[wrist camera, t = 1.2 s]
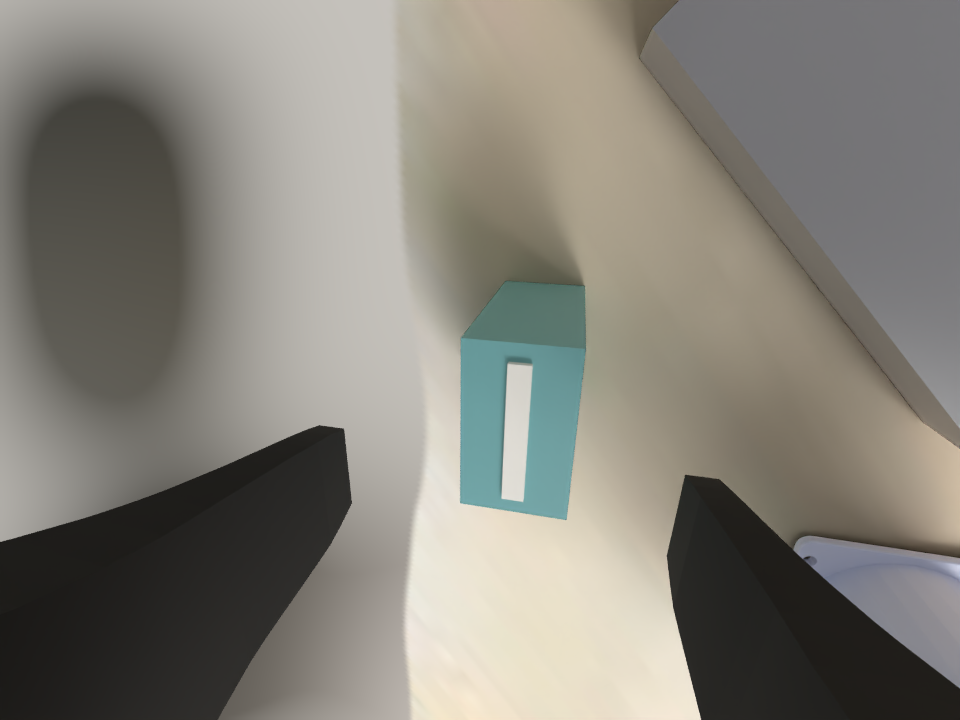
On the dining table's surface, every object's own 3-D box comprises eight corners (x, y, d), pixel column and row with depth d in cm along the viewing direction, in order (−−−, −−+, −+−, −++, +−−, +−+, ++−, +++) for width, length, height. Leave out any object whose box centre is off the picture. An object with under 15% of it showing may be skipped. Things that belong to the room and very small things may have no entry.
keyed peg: (572, 405, 19) (566, 523, 12) (501, 396, 19) (458, 506, 13) (585, 285, 17) (585, 351, 10) (505, 280, 17) (459, 339, 11)
